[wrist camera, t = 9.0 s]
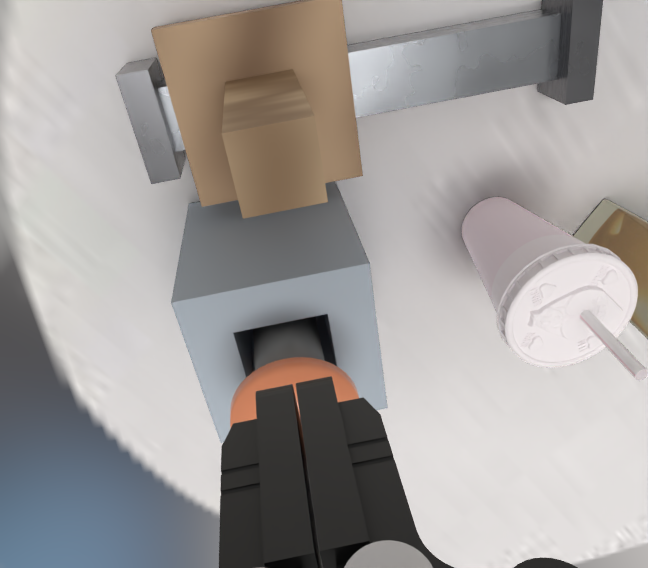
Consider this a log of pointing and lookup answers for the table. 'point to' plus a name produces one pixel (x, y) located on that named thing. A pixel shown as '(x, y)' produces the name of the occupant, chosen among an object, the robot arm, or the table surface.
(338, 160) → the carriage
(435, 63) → the rail
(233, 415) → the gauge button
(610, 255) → the smoothie
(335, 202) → the grey button box
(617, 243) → the skincare box
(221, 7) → the table surface
